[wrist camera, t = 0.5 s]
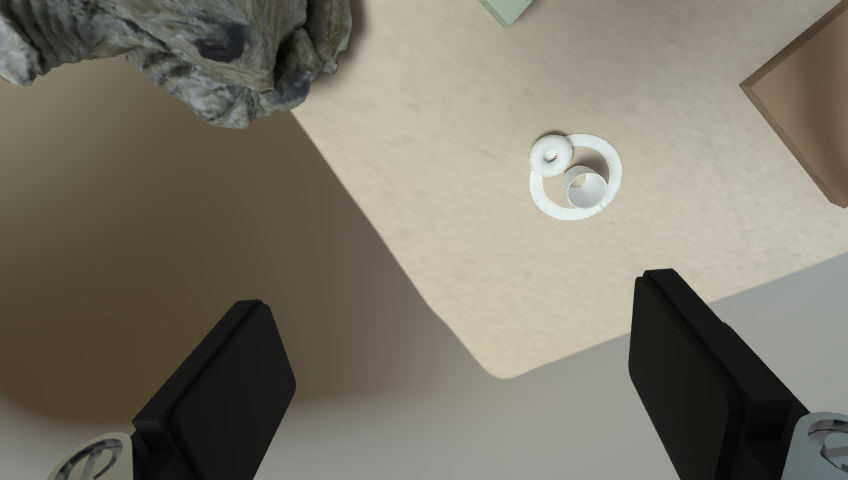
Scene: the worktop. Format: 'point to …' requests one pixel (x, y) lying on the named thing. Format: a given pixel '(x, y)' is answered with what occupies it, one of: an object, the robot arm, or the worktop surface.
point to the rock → (186, 47)
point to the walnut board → (811, 100)
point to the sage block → (505, 9)
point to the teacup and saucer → (573, 175)
